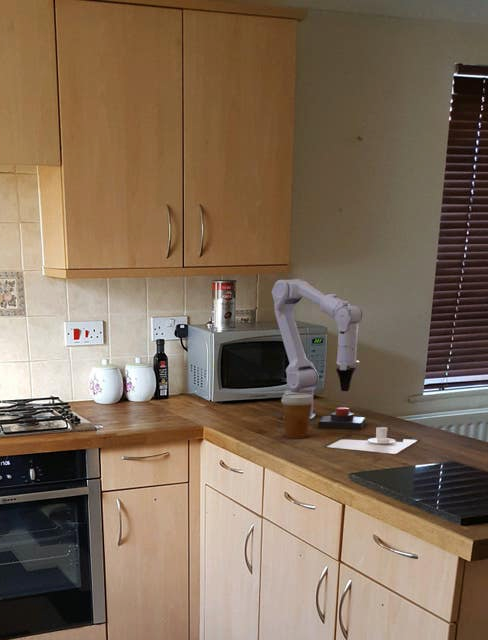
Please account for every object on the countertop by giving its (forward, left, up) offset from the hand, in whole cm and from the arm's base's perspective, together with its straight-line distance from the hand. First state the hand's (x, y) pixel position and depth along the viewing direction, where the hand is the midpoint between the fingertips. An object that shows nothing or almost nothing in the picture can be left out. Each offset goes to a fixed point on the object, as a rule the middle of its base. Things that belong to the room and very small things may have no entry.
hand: (345, 390), depth 274 cm
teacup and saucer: (+12, -28, -11) cm, 32 cm away
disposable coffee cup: (-11, -22, -11) cm, 27 cm away
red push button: (0, -4, -7) cm, 8 cm away
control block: (0, -4, -10) cm, 11 cm away
